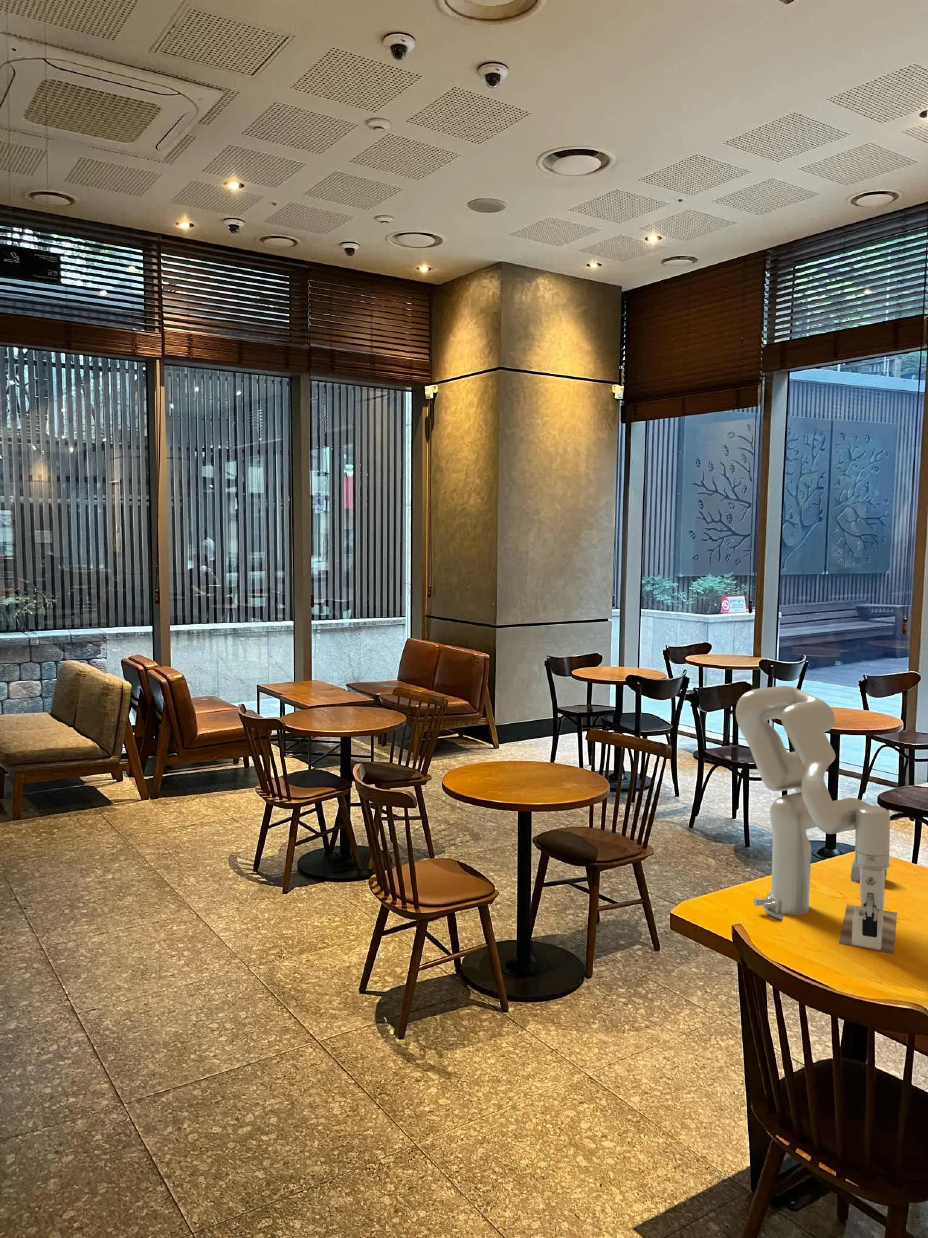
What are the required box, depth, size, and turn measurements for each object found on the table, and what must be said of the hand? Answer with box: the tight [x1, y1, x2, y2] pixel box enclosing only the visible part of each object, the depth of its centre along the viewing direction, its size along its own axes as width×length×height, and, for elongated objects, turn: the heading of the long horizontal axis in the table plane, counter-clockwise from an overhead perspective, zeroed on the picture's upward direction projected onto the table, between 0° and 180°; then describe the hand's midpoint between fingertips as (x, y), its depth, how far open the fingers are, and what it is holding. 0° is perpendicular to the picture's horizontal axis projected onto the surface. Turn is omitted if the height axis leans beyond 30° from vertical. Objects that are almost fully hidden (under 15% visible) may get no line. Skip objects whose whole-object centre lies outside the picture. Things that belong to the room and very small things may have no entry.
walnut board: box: [838, 904, 898, 955], centre depth 233 cm, size 26×12×2 cm, turn 154°
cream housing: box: [852, 907, 883, 950], centre depth 224 cm, size 6×6×7 cm
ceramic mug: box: [850, 858, 888, 883], centre depth 265 cm, size 11×8×8 cm
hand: (870, 928), depth 223 cm, fingers open, 9 cm apart
